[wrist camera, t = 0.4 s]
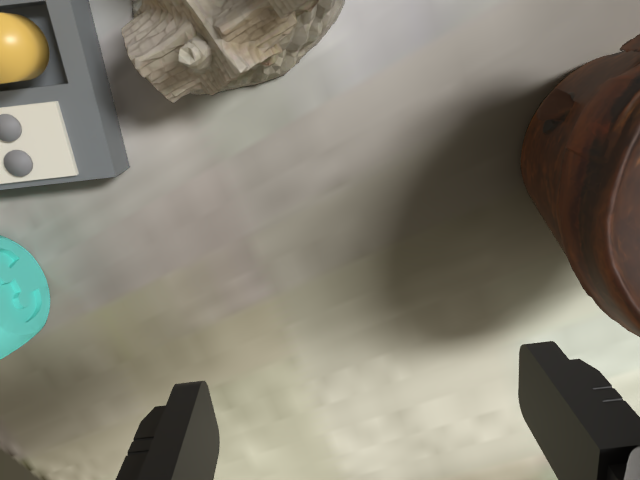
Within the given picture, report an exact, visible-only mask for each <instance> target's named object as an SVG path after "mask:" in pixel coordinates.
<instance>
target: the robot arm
mask: <svg viewBox="0 0 640 480" xmlns="http://www.w3.org/2000/svg"><path fill="white" fill-rule="evenodd" d="M518 396H519V404H520V408H521V412H522V415H523V417H524V420H525V422H526V423H527V425H528V427H529V429H530V430H531V432H532V434H533V436H534V437H535V439H536V441H537V443H538V444H539V446H540V448H541V450H542V452H543V453H544V455H545V457H546V459H547V460H548V462H549V464H550V466H551V467H552V469H553V471H554V473H555V474H556V476H557V478H558V480H640V417H639V416H638V415H637V414H636V413H635V411H634V410H633V409H632V408H631V407H630V406H629V405H628V403H627V402H626V401H623V399H622V397H621V395H620V394H619V393H618V392H617V391H616V390H615V389H614V388H612V385H611V384H610V383H609V382H608V381H607V379H606V378H605V377H604V376H603V375H602V374H601V373H600V371H599V370H597V369H595V368H594V367H592V366H590V365H589V364H587V363H585V362H584V361H582V360H580V359H574V360H569V359H568V358H567V357H566V355H565V354H564V353H563V352H562V350H561V349H560V348H559V347H558V345H557V344H556V343H555V342H553V341H549V342H541V343H532V344H524V345H521V347H520V352H519V390H518ZM219 444H220V441H219V430H218V425H217V421H216V417H215V413H214V409H213V405H212V401H211V397H210V393H209V389H208V385H207V383H206V382H205V381H198V382H189V383H181V384H175V385H174V387H173V389H172V392H171V394H170V397H169V399H168V402H167V405H166V406H158V407H154V409H153V410H152V411H151V412H150V413H149V414H148V415H147V416H146V417H145V418H144V419H143V420H142V421H141V423H140V425H139V427H138V430H137V432H136V434H135V437H134V442H132V443H131V446H130V448H129V450H128V456H126V457H125V460H124V462H123V464H122V466H121V469H120V471H119V473H118V476H117V478H116V480H213V478H214V473H215V469H216V464H217V459H218V455H219Z"/></svg>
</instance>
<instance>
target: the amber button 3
mask: <svg viewBox="0 0 640 480" xmlns="http://www.w3.org/2000/svg"><path fill="white" fill-rule="evenodd" d="M49 55H50V52H49V45H48V42H47V39H46V37H45V35H44V34H43V32H42V31H41V29H40V28H39V27H38V26H37V25H36V24H35V23H34V22H33V21H31V20H30V19H28V18H26V17H24V16H22V15H18V14H12V13H2V12H0V84H2V83H10V82H18V81H25V80H31V79H34V78H36V77H38V76H39V75H41V74H42V73H43V72H44V70H45V69H46V67H47V65H48V62H49Z"/></svg>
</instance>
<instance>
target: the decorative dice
mask: <svg viewBox="0 0 640 480" xmlns="http://www.w3.org/2000/svg"><path fill="white" fill-rule="evenodd" d="M49 309H50V293H49V288H48V284H47V281H46V278H45V276H44V273H43V271H42V270H41V268H40V266H39V264H38V263H37V262H36V260H35V259H34V258H33V256H32V255H31V254H30V253H29V252H28V251H27V250H26V249H24V248H23V247H22V246H20V245H19V244H17V243H16V242H14V241H12V240H10V239H8V238H6V237H3V236H1V235H0V359H2V358H4V357H6V356H7V355H9V354H10V353H12V352H14V351H15V350H17V349H18V348H19V347H21V346H22V345H24V344H25V343H26V342H28V341H29V340H30V339H31V338H33V337H34V336H35V335H36V334H37V333H38V332H39V331H40V330H41V329H42V328H43V326H44V325H45V323H46V321H47V317H48V314H49Z"/></svg>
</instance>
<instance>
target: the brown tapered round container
mask: <svg viewBox="0 0 640 480" xmlns="http://www.w3.org/2000/svg"><path fill="white" fill-rule="evenodd" d="M620 50H621V51H622V50H624V51H622V52H619V53H616V54H611V55H607V56H603V57H600V58H597V59H595V60H592V61H590V62H588V63H586V64H585V65H583V66H581V67H580V68H578V69H577V70H575V71H574V72H572V73H571V74H570V75H568V76H567V77H566V78H565V79H564V80H562V81H561V82H560V83H559V84H558V85H557V86H556V87H555V88H554V89H553V90H552V91H551V92H550V94H549V95H548V96H547V97H546V98H545V99H544V101H543V102H542V103H541V105H540V106H539V108H538V110H537V111H536V113H535V114H534V116H533V118H532V120H531V122H530V124H529V126H528V129H527V132H526V135H525V138H524V142H523V147H522V153H521V171H522V177H523V181H524V184H525V186H526V189H527V191H528V193H529V195H530V197H531V199H532V201H533V202H534V204H535V206H536V207H537V209H538V211H539V212H540V214H541V215H542V217H543V219H544V220H545V222H546V224H547V225H548V227H549V229H550V230H551V232H552V233H553V235H554V237H555V238H556V240H557V241H558V243H559V244H560V246H561V248H562V249H563V251H564V253H565V254H566V256H567V257H568V260H569V262H570V265H571V267H572V269H573V271H574V272H575V275H576V276H577V278H578V280H579V281H580V283H581V285H582V287H583V289H584V290H585V291H586V293H587V294H588V296H590V297H592V298H593V300H594V301H595V303H596V304H597V305H598V306H599V308H600V309H601V310H602V311H603V312H605V313H606V314H607V315H608V316H609V317H610V318H611V319H613V320H615V321H616V322H618V323H619V324H620V325H621V326H623V327H624V328H626V329H627V330H628V331H630V332H632V333H634V334H635V335H637V336H639V337H640V34H639V35H637V36H636V37H635V38H633V39H631V40H630V41H628V42H627V43H625V44H624V45H622V47H621V48H620Z"/></svg>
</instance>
